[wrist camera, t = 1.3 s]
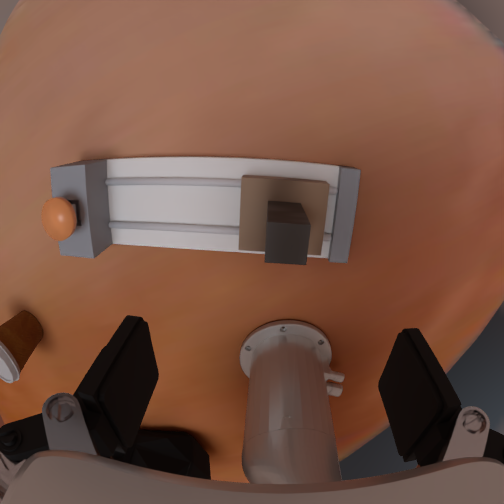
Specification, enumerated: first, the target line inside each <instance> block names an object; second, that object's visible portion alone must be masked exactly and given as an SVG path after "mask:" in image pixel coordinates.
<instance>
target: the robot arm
mask: <svg viewBox="0 0 504 504" xmlns="http://www.w3.org/2000/svg"><path fill="white" fill-rule="evenodd" d="M331 357H332V351H331V346H330V343H329V341H328V339H327V337H326V336H325V334H324V333H323V332H322V331H320V330H319V329H318V328H316V327H314V326H313V325H311V324H308V323H305V322H301V321H295V320H282V321H275V322H271V323H268V324H265V325H263V326H261V327H259V328H257V329H256V330H254V331H253V332H251V333H250V334H249V336H248V337H247V338H246V339H245V341H244V342H243V344H242V347H241V350H240V365H241V368H242V370H243V371H244V373H245V374H246V376H247V377H248V378H249V388H248V399H247V410H246V420H245V431H244V441H243V450H242V467H243V471H244V473H245V476H246V477H247V479H248V481H249V482H250V483H238V482H226V481H217V480H208V479H201V478H194V477H188V476H182V475H177V474H171V473H166V472H162V471H157V470H152V469H148V468H143V467H139V466H135V465H131V464H127V463H124V462H120V461H117V460H113V458H112V456H113V455H114V452H115V451H118V452H122V453H125V454H126V451H127V448H128V447H130V448H131V447H132V446H133V443H134V441H135V438H136V435H137V433H138V430H139V427H140V425H141V422H142V419H143V417H144V414H145V412H146V409H147V406H148V404H149V401H150V399H151V396H152V394H153V391H154V389H155V386H156V383H157V381H158V376H159V373H158V368H157V364H156V360H155V355H154V351H153V346H152V342H151V337H150V332H149V327H148V323H147V322H146V321H144V320H143V318H142V317H137V316H130V315H128V316H126V317H125V319H124V320H123V322H122V323H121V325H120V326H119V328H118V329H117V331H116V332H115V333H114V335H113V336H112V338H111V340H110V341H109V343H108V344H107V346H105V347H104V348H103V349H102V350H101V352H100V353H99V355H98V356H97V358H96V359H95V361H94V363H93V364H92V366H91V367H90V369H89V370H88V372H87V374H86V375H85V377H84V378H83V380H82V382H81V383H80V385H79V386H78V388H77V390H76V391H75V393H74V395H71V394H69V393H57V394H55V395H52V396H51V397H49V398H48V399H47V400H46V401H45V403H44V405H43V408H42V413H40V414H37V415H34V416H31V417H28V418H25V419H21V420H18V421H15V422H11V423H8V424H6V425H3V426H2V427H1V428H0V504H504V435H502V434H500V433H498V432H496V431H494V430H492V429H489V427H490V422H489V418H488V416H487V415H486V414H485V412H484V411H483V410H481V409H479V408H477V407H473V406H472V407H466V408H464V409H463V410H462V408H461V406H460V405H461V402H460V400H459V398H458V396H457V394H456V393H455V391H454V389H453V387H452V385H451V383H450V381H449V380H448V378H447V376H446V374H445V372H444V371H443V369H442V367H441V365H440V364H439V362H438V360H437V358H436V357H435V355H434V353H433V352H432V350H431V348H430V347H429V345H428V343H427V342H426V340H425V338H424V337H423V335H422V333H421V332H420V330H419V329H418V328H409V329H403V330H402V332H401V333H399V334H398V336H397V338H396V341H395V343H394V346H393V349H392V351H391V354H390V356H389V359H388V361H387V364H386V366H385V368H384V371H383V373H382V375H381V378H380V380H379V384H378V388H379V392H380V395H381V398H382V401H383V404H384V407H385V410H386V413H387V416H388V420H389V423H390V426H391V429H392V433H393V436H394V439H395V443H396V446H397V449H398V453H399V455H400V456H403V459H404V462H408V461H412V460H416V459H417V462H418V465H417V467H416V468H415V469H411V470H406V471H401V472H396V473H391V474H386V475H380V476H375V477H369V478H362V479H355V480H347V481H342V478H341V473H340V467H339V461H338V454H337V448H336V440H335V434H334V428H333V421H332V415H331V409H330V403H329V398H328V395H331V396H336V397H339V396H340V395H341V393H342V390H343V386H342V385H340V384H336V383H332V382H326V381H327V380H328V379H331V380H333V381H336V382H343V380H344V377H345V375H344V373H340V372H335V371H331V369H330V367H329V365H330V362H331Z"/></svg>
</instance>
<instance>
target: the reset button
mask: <svg viewBox="0 0 504 504" xmlns="http://www.w3.org/2000/svg"><path fill="white" fill-rule="evenodd" d="M42 223H43V226H44V229H45V231H46V232H47V234H48V235H49V236H50V237H51V238H53V239H54V240H57V241H63V240H65V239H67V238H68V237H70V236H71V235H72V234H73V233H74V231H75V229H76V223H77V216H76V207H75V204H71V203H70V202H69V201H68V200H67V199H65V198H63V197H54V198H52V199H49V200H48V201H47V202H46V203H45V204H44V206H43V209H42Z"/></svg>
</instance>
